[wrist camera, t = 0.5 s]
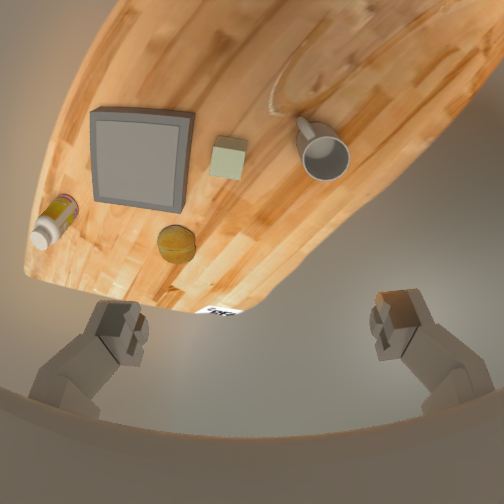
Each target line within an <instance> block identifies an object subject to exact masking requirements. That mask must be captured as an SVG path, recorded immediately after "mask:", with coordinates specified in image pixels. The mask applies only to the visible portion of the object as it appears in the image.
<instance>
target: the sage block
mask: <svg viewBox="0 0 504 504" xmlns="http://www.w3.org/2000/svg"><path fill="white" fill-rule="evenodd" d="M246 147H247V140H241V139H236V138H230V137H224V136H218V138H217V140H216V142H215V144H214V146H213V153H212V160H211V167H210V174H209V175H210V176H216V177H223V178H228V179H234V180H240V178H241V173H242V168H243V163H244V158H245V154H246Z"/></svg>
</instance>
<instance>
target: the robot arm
mask: <svg viewBox="0 0 504 504" xmlns="http://www.w3.org/2000/svg"><path fill="white" fill-rule="evenodd" d="M375 303H376V306H375V307H374V308H372V310H371V314H370V329H371V333H372V335H373V336H374V337H375V338H376V339H377V341H376V344H375V347H376V351H377V355H378V359H379V361H384V360H392V359H399V358H401V360H402V362H403V363H404V364H405V365H406V366H407V367H408V368H409V369H410V370H411V371H412V372H413V374H414V375H415V376H416V377H417V378H418V379H419V380H420V381H421V382H422V383H423V385H425V387H426V388H427V389H428V390H429V391H430V392H431V394H430V395H429V397H427V398H426V400H425V401H424V402H423V403H422V405H421V407H422V412H423V415H422V416H418V417H414V418H410V419H406V420H402V421H398V422H393V423H389V424H384V425H378V426H373V427H367V428H361V429H355V430H349V431H341V432H333V433H325V434H315V435H302V436H287V437H286V436H285V437H220V436H204V435H191V434H181V433H172V432H164V431H157V430H150V429H144V428H138V427H133V426H127V425H122V424H117V423H112V422H108V421H103V420H99V415H100V411H101V410H100V408H99V407H98V406H97V405H96V404H95V403H94V402H93V401H91V399H92V398H93V397H94V396H95V394H96V393H97V392H98V391H99V390H100V389H101V388H102V386H103V385H104V384H105V383H106V382H107V381H108V380H109V378H110V377H111V376H112V375H113V374H114V372H115V371H116V370H117V369H118V368H119V367H120V365H124V366H137V367H140V364H141V360H142V357H143V353H144V351H143V348H142V345H143V344H145V343H146V342H147V339H148V335H149V325H148V321H147V319H146V317H145V316H144V315H142V314H141V313H140V311H141V307H140V305H139V303H138V302H135V301H115V300H100V301H99V302H98V303H97V304H96V306H95V308H94V311H93V313H92V315H91V317H90V319H89V322H88V324H87V326H86V328H85V331H84V333H83V334H79V335H78V336H77V337H76V338H75V339H73V340H72V341H71V342H70V343H69V344H67V345H66V346H65V347H64V348H63V349H62V350H60V351H59V352H58V353H57V354H56V355H55V356H53V357H52V358H51V359H50V360H49V361H48V362H47V363H45V364H44V365H43V366H42V367H41V368H40V369H39V370H38V373H37V375H36V378H35V380H34V383H33V385H32V388H31V390H30V393H29V396H28V397H25V396H22V395H20V394H17V393H15V392H12V391H10V390H7V389H5V388H3V387H1V386H0V504H504V387H502V388H500V389H498V390H495V388H494V386H493V382H492V380H491V377H490V374H489V372H488V369H487V367H486V364H485V362H484V360H483V359H482V358H481V357H480V356H478V355H477V354H476V353H475V352H474V351H472V350H471V349H470V348H469V347H467V346H466V345H465V344H464V343H462V342H461V341H460V340H459V339H458V338H456V337H455V336H454V335H452V334H451V333H450V332H449V331H447V330H446V329H445V328H444V327H442V326H441V325H440V324H435V322H434V320H433V318H432V316H431V313H430V311H429V309H428V307H427V305H426V303H425V301H424V299H423V296H422V294H421V292H420V290H418V289H417V288H416V289H409V290H397V291H388V292H379V293H378V294H377V295H376V297H375Z"/></svg>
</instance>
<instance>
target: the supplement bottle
mask: <svg viewBox="0 0 504 504" xmlns="http://www.w3.org/2000/svg"><path fill="white" fill-rule="evenodd" d="M77 215H78V206H77V204H76V202H75V201H74V200H73V199H72V198H71V197H70V196H68V195H60V196H58V197H57V198H56V199H55V200H54V201H53V202H52V203H51V204H50V205H49V207H48V208H47V209H46V210H45V211H44V212H43V213H42V214H41V215H40V216H39V218H38V219H37V220H36V222H35V229H34V230H33V231H32V233H31V235H30V238H31V241H32V243H33V245H34V246H35V247H36V248H38V249H40V250H46V249H47V248H48V246H49V245H50V244H54V243H56V242H57V241H58V240H59V239H60V238H61V236H62V235H63V234H64V232H65V231H66V230H67V228H68V227H69V226H70V225H71V223H72V222H73V221H74V219H75V218H76V217H77Z"/></svg>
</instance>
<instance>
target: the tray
mask: <svg viewBox="0 0 504 504" xmlns="http://www.w3.org/2000/svg"><path fill="white" fill-rule="evenodd" d="M194 118H195V113H190V112H182V111H172V110H161V109H148V108H131V107H99V108H97V109H95V110H93V111H91V112H90V151H91V169H92V183H93V194H94V201H96V202H103V203H110V204H117V205H124V206H131V207H138V208H145V209H151V210H158V211H164V212H171V213H177V214H181V212H182V210H183V207H184V205H185V200H186V189H187V178H188V168H189V159H190V150H191V141H192V133H193V125H194Z"/></svg>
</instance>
